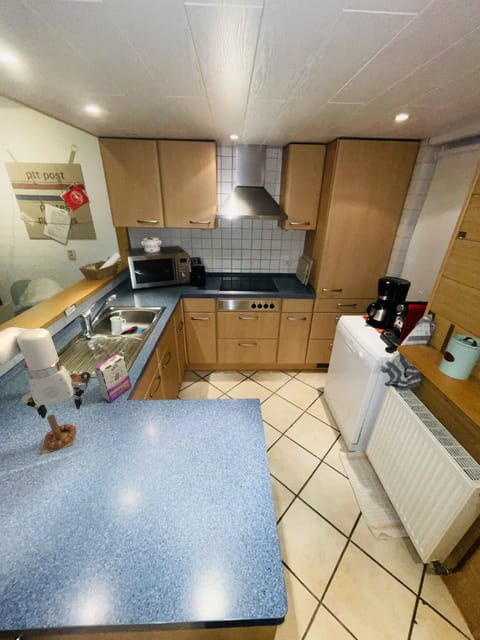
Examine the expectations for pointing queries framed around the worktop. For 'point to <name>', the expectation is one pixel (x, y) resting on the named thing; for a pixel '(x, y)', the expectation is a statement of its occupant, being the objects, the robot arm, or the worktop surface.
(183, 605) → the worktop surface
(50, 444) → the ring
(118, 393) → the candy bar box
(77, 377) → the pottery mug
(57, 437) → the post
